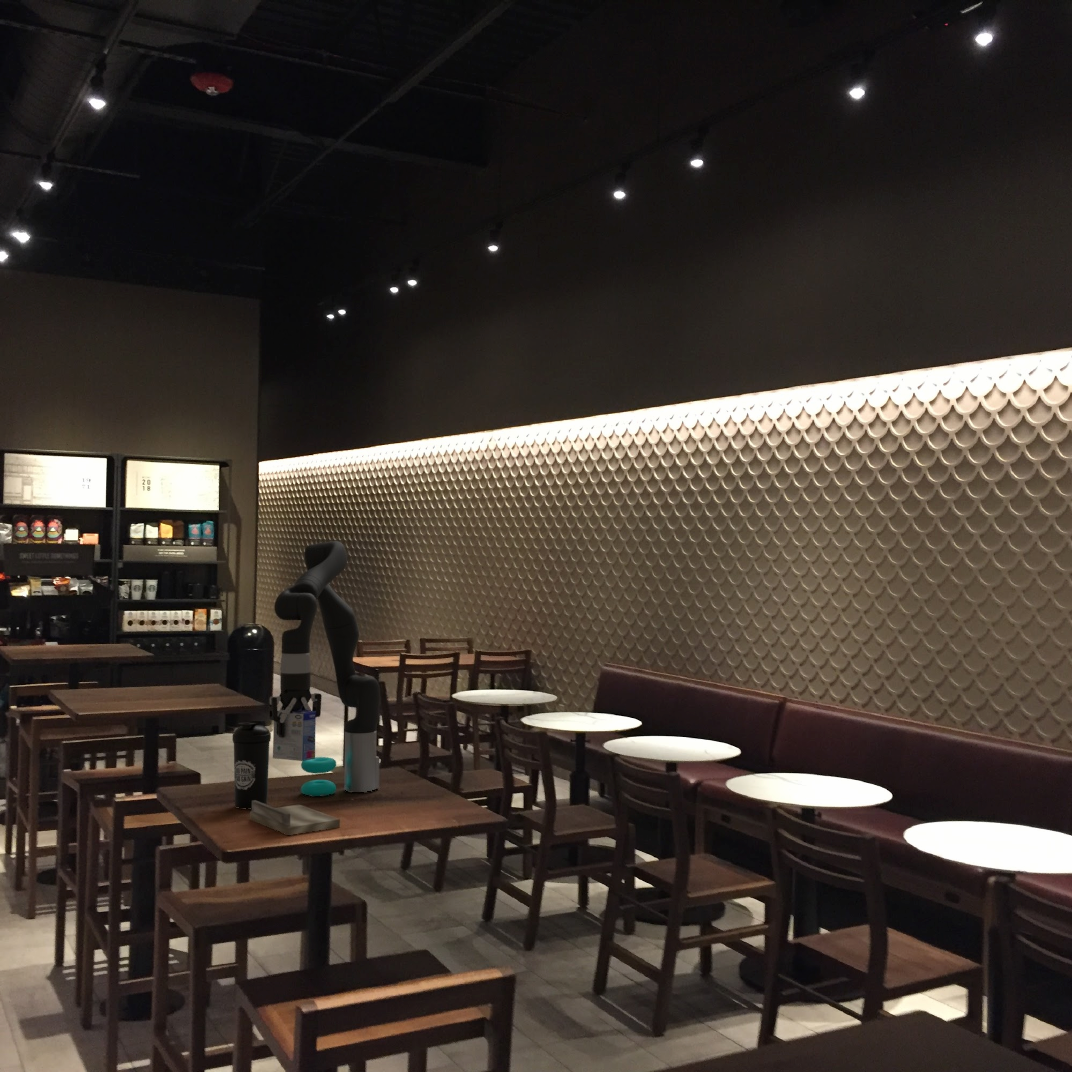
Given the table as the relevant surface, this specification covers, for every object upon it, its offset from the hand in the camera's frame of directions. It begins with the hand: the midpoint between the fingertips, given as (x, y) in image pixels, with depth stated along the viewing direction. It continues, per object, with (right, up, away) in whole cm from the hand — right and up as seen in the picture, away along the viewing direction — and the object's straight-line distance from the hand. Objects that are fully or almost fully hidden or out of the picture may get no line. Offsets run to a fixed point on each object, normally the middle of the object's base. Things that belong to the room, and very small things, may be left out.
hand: (294, 735), depth 273 cm
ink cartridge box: (0, -6, 0) cm, 6 cm away
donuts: (-1, -24, +35) cm, 43 cm away
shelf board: (0, -22, -1) cm, 22 cm away
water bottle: (-16, -23, +19) cm, 34 cm away
